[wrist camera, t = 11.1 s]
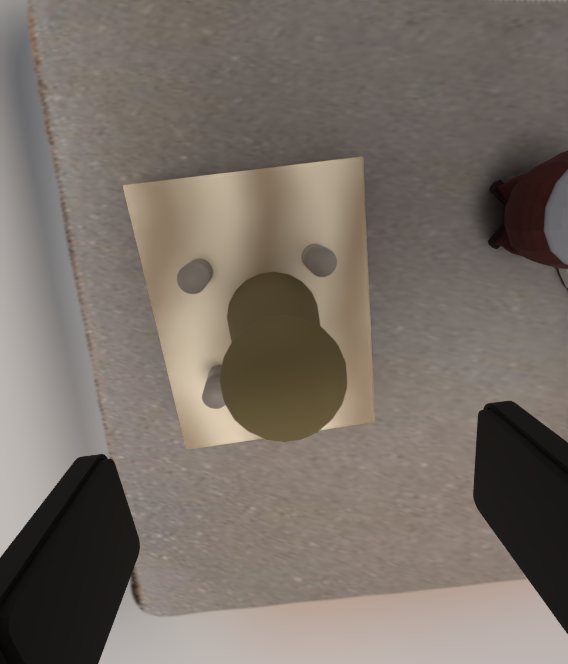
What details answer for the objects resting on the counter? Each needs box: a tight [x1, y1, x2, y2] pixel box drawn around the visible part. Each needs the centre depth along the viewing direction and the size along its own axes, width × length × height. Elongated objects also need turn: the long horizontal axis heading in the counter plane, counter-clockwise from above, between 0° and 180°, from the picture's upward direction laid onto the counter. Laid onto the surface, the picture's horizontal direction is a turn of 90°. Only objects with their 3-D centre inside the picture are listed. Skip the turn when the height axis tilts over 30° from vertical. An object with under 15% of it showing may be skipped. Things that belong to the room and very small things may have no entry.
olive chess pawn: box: [220, 272, 347, 442], centre depth 18 cm, size 6×6×11 cm
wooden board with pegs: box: [123, 156, 375, 450], centre depth 24 cm, size 14×18×7 cm
